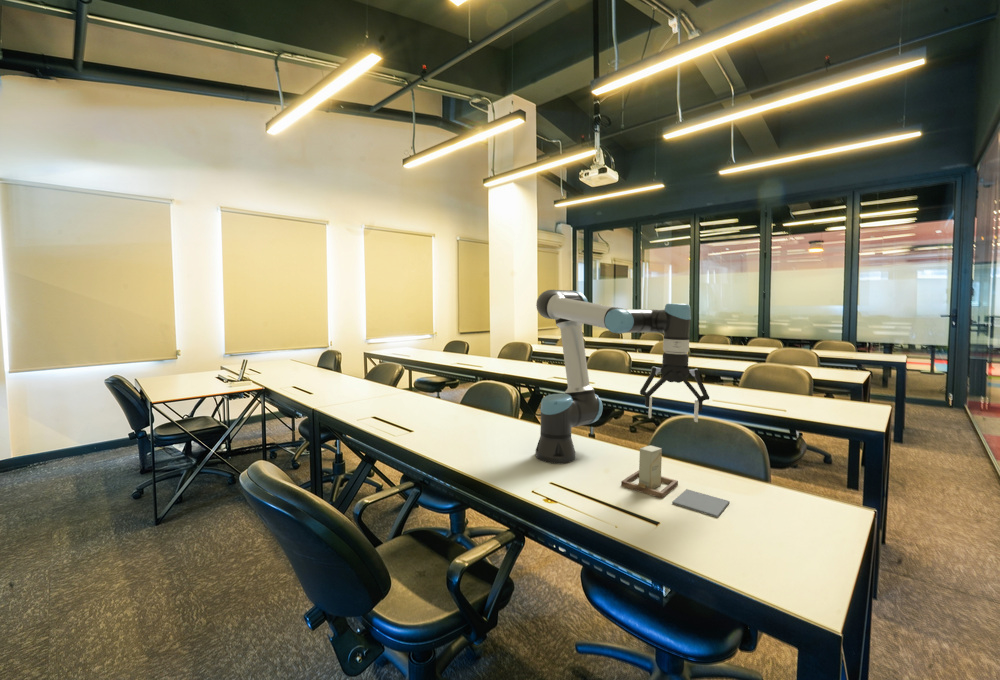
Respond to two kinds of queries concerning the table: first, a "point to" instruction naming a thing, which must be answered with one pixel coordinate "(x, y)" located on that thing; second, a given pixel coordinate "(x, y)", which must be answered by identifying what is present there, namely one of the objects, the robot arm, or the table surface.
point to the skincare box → (650, 466)
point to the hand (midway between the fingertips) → (672, 419)
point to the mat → (701, 503)
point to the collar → (646, 490)
